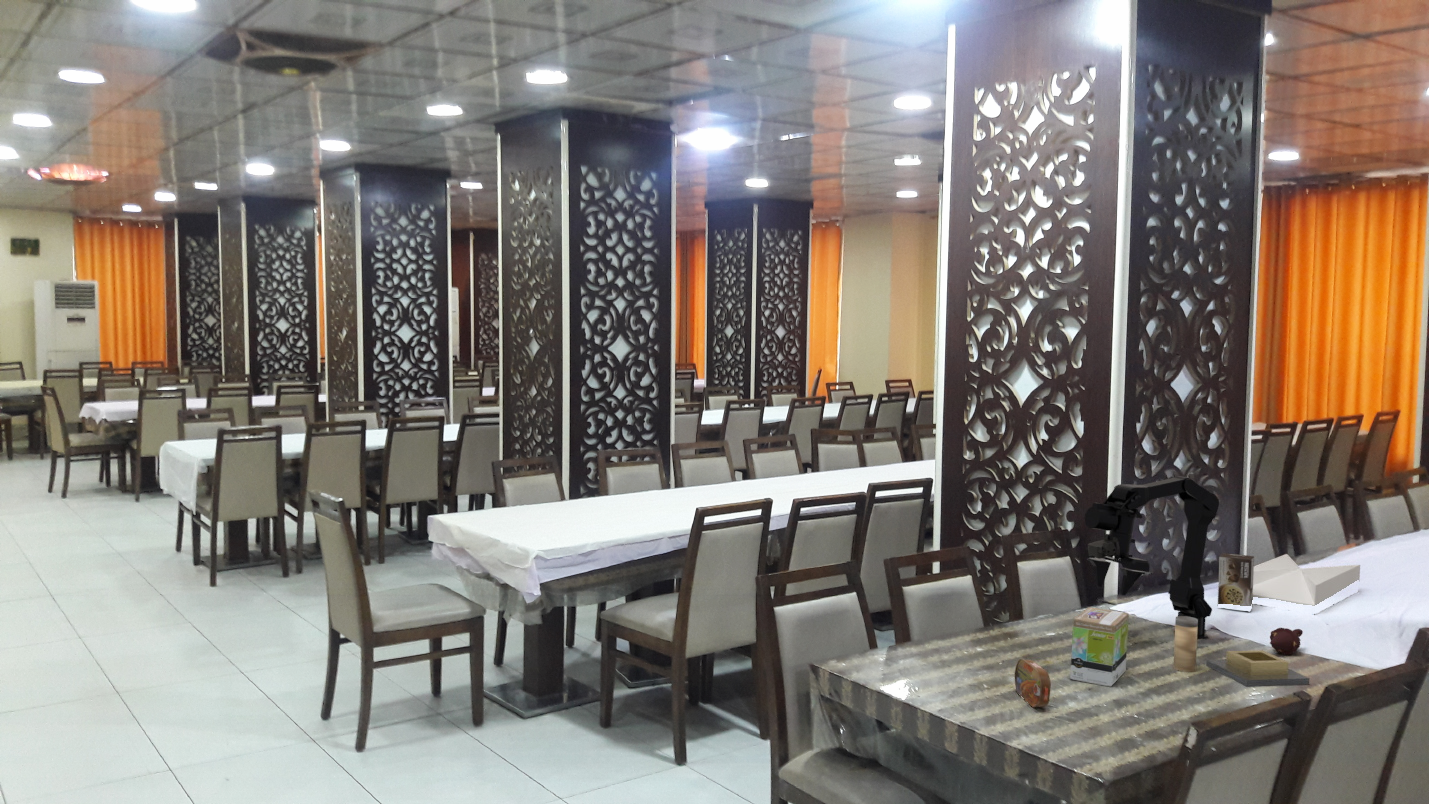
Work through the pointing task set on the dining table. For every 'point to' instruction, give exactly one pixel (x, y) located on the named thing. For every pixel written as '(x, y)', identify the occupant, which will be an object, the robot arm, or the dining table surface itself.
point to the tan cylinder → (1185, 643)
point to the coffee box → (1235, 579)
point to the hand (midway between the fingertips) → (1110, 591)
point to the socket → (1257, 669)
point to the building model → (1300, 581)
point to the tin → (1032, 683)
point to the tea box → (1099, 646)
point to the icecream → (1285, 640)
